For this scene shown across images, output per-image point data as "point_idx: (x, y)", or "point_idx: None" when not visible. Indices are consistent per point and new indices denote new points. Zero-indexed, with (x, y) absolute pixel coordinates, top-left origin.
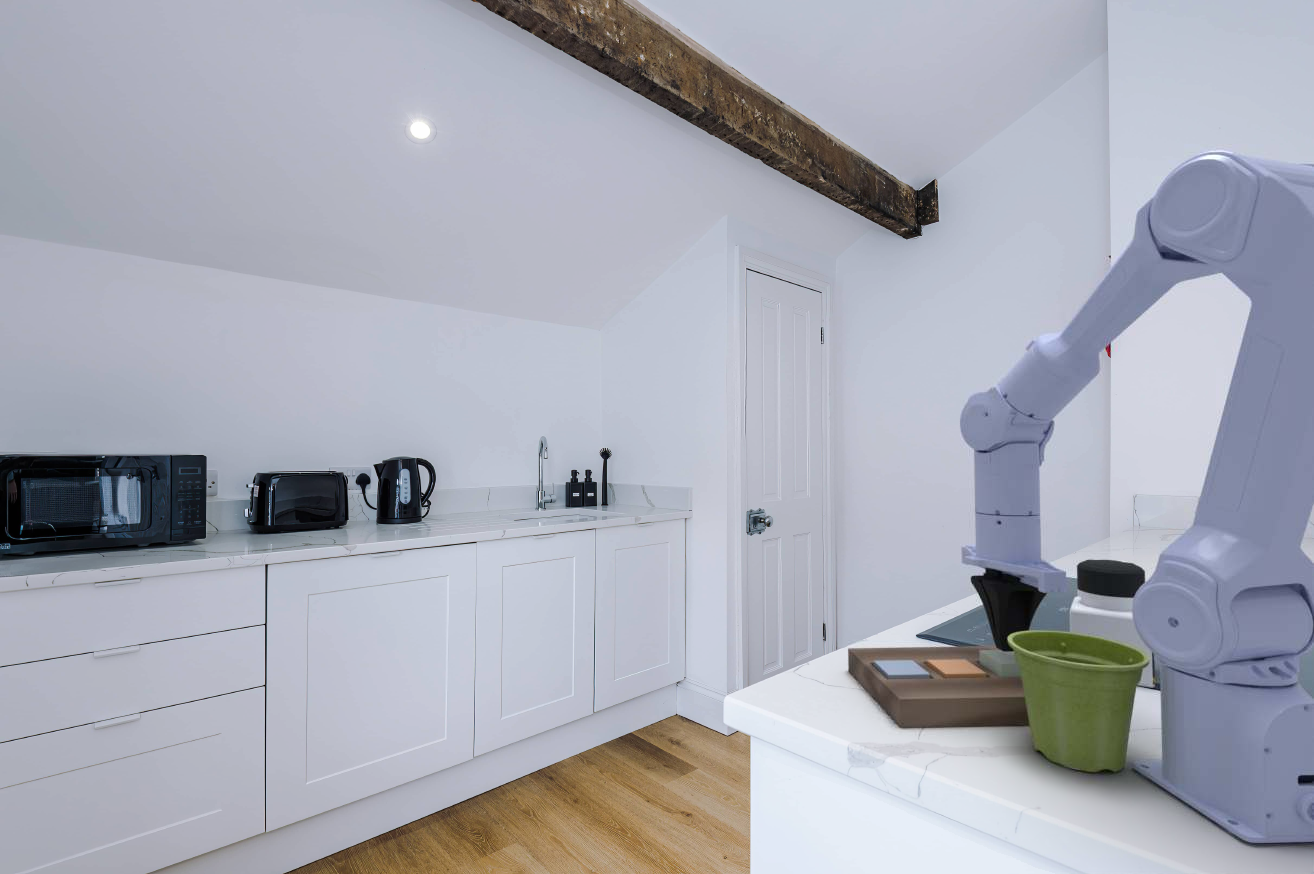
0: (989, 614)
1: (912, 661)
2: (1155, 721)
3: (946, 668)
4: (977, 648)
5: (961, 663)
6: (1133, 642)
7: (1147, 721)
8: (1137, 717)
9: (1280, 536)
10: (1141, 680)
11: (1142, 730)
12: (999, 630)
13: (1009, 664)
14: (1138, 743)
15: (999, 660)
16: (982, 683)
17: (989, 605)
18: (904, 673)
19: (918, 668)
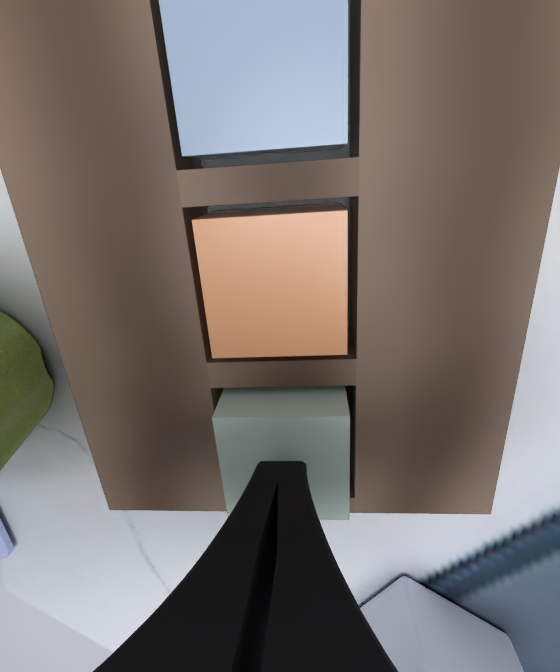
0: (298, 552)
1: (329, 137)
2: (168, 559)
3: (249, 248)
4: (478, 445)
5: (304, 323)
6: None
7: (166, 549)
8: (182, 546)
9: None
10: None
11: (125, 522)
12: (235, 508)
13: (216, 436)
14: (68, 487)
15: (243, 425)
16: (149, 313)
17: (271, 597)
18: (179, 37)
19: (244, 131)
